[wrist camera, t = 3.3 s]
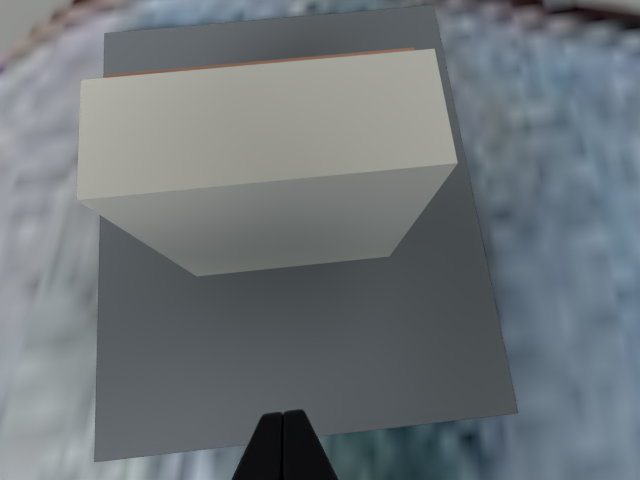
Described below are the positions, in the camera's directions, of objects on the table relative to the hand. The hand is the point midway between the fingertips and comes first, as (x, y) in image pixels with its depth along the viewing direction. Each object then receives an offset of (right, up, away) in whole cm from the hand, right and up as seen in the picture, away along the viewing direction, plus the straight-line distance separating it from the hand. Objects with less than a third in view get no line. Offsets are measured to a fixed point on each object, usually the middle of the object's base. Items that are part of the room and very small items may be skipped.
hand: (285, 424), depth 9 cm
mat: (-1, +5, +9) cm, 10 cm away
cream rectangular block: (0, +4, +7) cm, 8 cm away
